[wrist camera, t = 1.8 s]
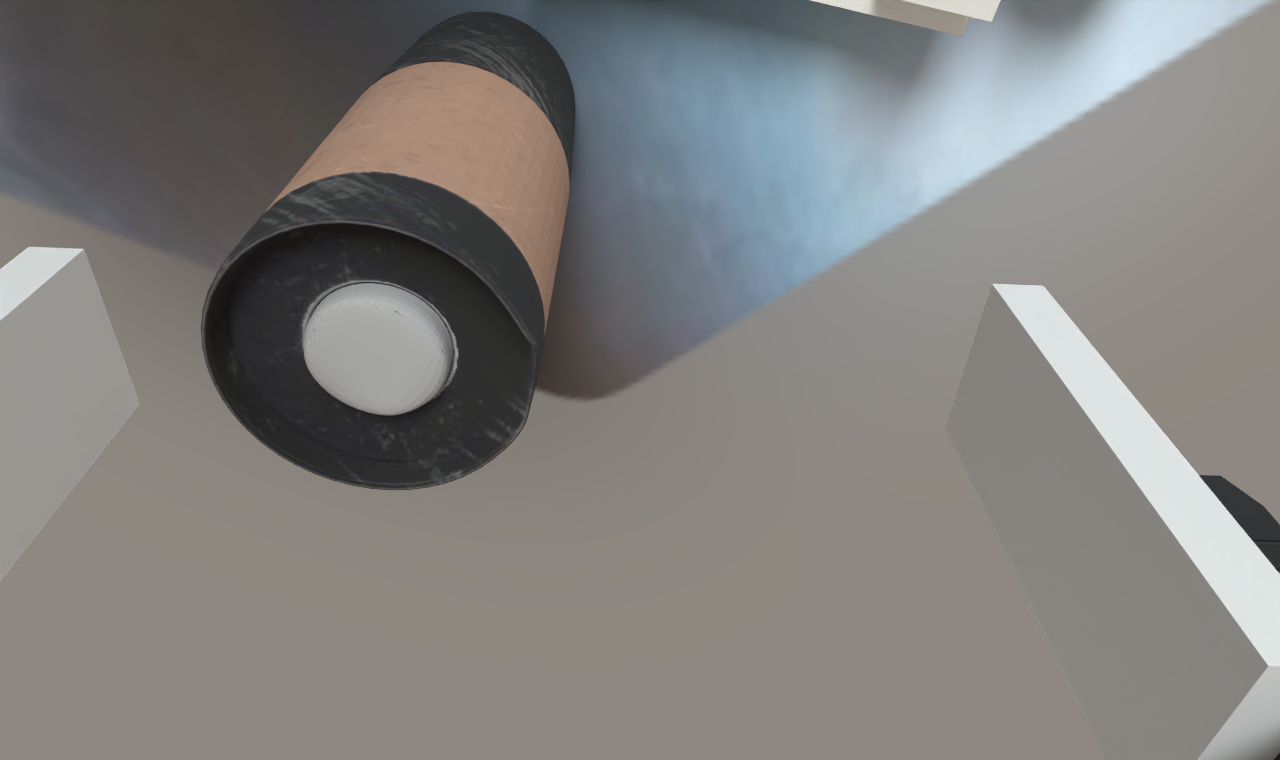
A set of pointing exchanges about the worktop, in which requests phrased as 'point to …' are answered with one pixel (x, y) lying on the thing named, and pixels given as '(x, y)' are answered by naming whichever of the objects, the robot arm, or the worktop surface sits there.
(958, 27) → the scale
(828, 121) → the worktop surface
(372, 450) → the travel mug
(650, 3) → the worktop surface
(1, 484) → the robot arm
